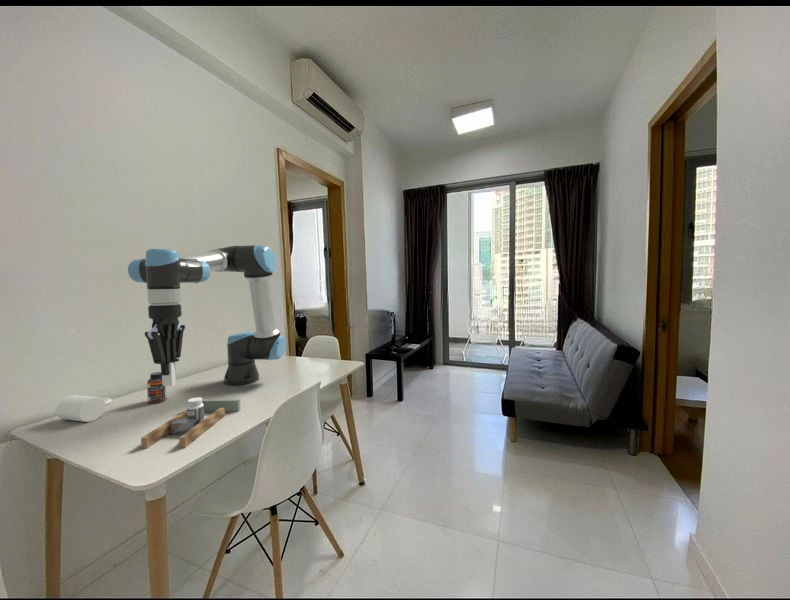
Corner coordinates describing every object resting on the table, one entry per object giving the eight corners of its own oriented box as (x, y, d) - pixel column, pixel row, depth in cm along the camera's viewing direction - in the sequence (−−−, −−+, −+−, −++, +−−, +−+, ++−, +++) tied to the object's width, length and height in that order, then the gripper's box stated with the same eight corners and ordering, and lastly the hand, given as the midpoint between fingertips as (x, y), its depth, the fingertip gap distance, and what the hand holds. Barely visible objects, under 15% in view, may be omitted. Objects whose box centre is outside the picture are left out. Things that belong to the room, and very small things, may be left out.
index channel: (189, 416, 106) (189, 407, 106) (224, 415, 107) (224, 407, 107) (141, 448, 85) (141, 438, 85) (185, 447, 86) (185, 437, 86)
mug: (79, 426, 99) (78, 402, 99) (56, 423, 101) (55, 399, 101) (119, 411, 111) (118, 389, 110) (98, 409, 113) (97, 388, 112)
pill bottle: (201, 419, 104) (201, 395, 104) (206, 423, 101) (205, 399, 100) (185, 424, 100) (184, 399, 100) (189, 428, 97) (188, 403, 97)
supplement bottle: (148, 405, 116) (147, 376, 116) (147, 400, 121) (146, 372, 120) (167, 401, 120) (166, 373, 119) (166, 397, 124) (165, 370, 124)
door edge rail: (191, 410, 112) (190, 399, 111) (240, 409, 112) (240, 399, 112) (188, 411, 110) (188, 401, 110) (238, 411, 111) (238, 400, 110)
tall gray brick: (177, 429, 96) (177, 419, 96) (199, 429, 97) (199, 418, 96) (170, 434, 93) (170, 423, 93) (193, 434, 94) (193, 423, 93)
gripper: (167, 302, 93) (171, 377, 94) (132, 306, 80) (137, 393, 81) (192, 302, 93) (196, 377, 94) (161, 306, 80) (166, 393, 81)
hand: (169, 384), depth 88 cm, fingers closed
